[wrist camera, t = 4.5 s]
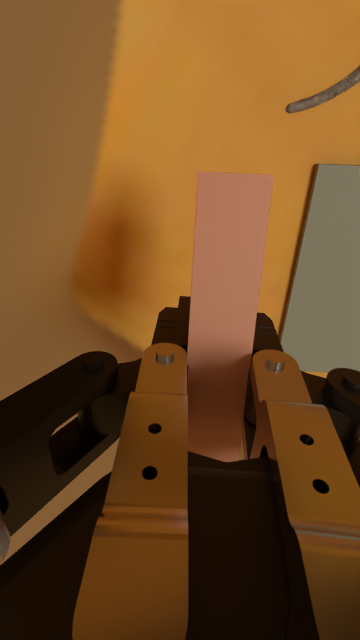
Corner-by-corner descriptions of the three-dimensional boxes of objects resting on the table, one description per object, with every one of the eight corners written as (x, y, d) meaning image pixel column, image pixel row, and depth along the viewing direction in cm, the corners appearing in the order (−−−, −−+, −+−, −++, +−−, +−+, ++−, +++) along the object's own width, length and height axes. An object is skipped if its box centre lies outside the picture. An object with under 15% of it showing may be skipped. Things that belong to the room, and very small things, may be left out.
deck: (196, 193, 14) (198, 171, 8) (240, 195, 13) (273, 175, 8) (184, 405, 16) (178, 502, 11) (219, 407, 16) (233, 506, 11)
